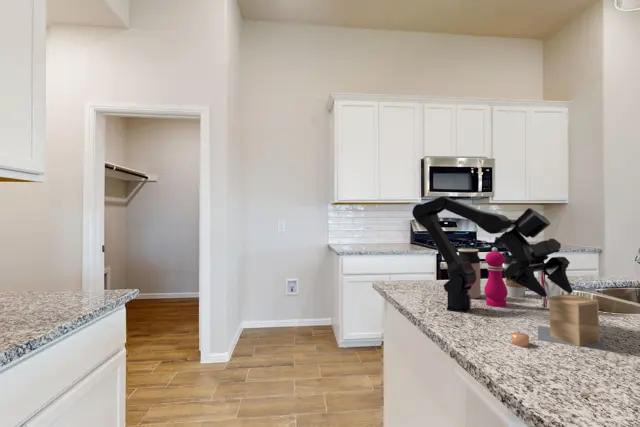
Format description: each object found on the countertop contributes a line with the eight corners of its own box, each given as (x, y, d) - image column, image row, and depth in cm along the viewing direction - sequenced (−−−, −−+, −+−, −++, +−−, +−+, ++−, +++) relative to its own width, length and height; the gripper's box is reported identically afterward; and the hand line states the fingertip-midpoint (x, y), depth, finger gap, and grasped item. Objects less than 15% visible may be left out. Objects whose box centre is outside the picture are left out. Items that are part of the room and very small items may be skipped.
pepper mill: (480, 302, 120) (479, 246, 120) (499, 301, 121) (498, 245, 121) (492, 307, 113) (490, 248, 113) (512, 306, 113) (511, 247, 113)
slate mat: (537, 341, 83) (537, 339, 83) (538, 327, 93) (538, 325, 93) (606, 352, 76) (606, 350, 76) (598, 335, 86) (598, 334, 86)
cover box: (550, 336, 85) (549, 296, 85) (569, 332, 88) (568, 294, 88) (578, 346, 79) (577, 303, 79) (599, 341, 81) (598, 300, 81)
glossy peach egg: (511, 346, 80) (510, 336, 80) (512, 341, 83) (512, 331, 83) (528, 349, 78) (528, 338, 78) (529, 344, 81) (529, 334, 81)
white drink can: (569, 311, 107) (567, 264, 107) (544, 310, 108) (543, 264, 108) (558, 305, 114) (557, 261, 114) (535, 304, 115) (534, 261, 115)
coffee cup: (525, 293, 131) (524, 255, 132) (531, 298, 123) (530, 257, 124) (501, 292, 134) (500, 254, 134) (506, 297, 126) (505, 257, 126)
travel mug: (474, 293, 133) (473, 248, 133) (484, 298, 125) (483, 250, 125) (454, 294, 133) (453, 248, 133) (463, 299, 125) (462, 250, 125)
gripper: (511, 230, 89) (553, 279, 78) (561, 227, 95) (607, 272, 84) (488, 257, 96) (524, 304, 86) (536, 253, 102) (575, 297, 92)
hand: (558, 294), depth 87 cm, fingers open, 9 cm apart
